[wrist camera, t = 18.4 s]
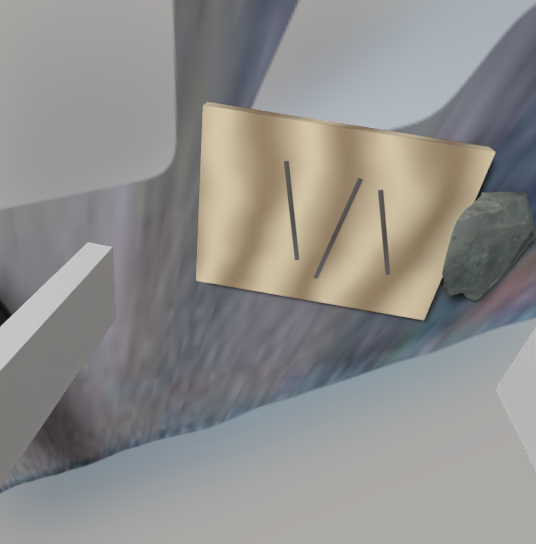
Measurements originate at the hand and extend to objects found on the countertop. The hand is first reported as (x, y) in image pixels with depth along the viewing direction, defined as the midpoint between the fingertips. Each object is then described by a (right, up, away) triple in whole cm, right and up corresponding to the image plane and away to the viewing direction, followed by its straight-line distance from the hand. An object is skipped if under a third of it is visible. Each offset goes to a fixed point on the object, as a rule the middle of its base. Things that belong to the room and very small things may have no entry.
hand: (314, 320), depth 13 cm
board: (+4, +6, +23) cm, 24 cm away
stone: (+11, +1, +18) cm, 21 cm away
